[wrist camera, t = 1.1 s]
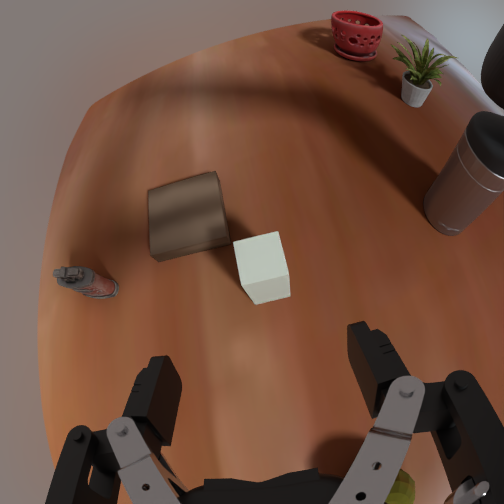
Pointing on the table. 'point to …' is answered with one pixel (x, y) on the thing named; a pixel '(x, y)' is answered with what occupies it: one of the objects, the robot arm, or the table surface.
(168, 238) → the walnut base
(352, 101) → the table surface
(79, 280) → the lighter
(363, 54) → the plant pot
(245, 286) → the sage pillar
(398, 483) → the apple
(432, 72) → the house plant
